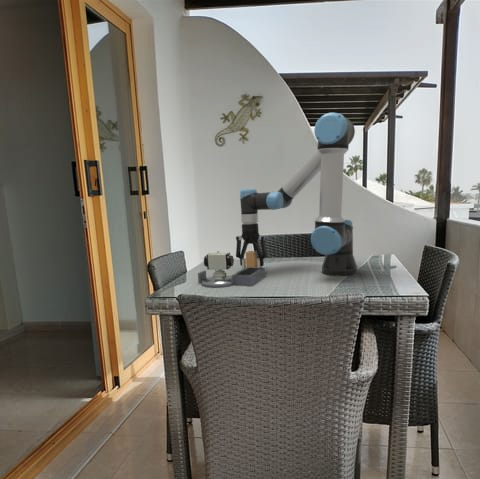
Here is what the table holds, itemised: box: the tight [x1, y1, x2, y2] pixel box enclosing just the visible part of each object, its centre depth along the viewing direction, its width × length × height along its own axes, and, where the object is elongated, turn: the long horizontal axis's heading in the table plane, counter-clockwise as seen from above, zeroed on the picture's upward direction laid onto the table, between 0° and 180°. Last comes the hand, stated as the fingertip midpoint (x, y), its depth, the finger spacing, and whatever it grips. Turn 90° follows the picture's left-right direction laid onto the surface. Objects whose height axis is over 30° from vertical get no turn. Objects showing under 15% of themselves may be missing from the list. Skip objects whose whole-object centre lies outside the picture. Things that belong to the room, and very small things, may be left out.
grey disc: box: [197, 270, 241, 289], centre depth 148 cm, size 18×15×4 cm
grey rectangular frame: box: [231, 267, 267, 287], centre depth 149 cm, size 9×17×4 cm, turn 157°
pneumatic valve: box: [203, 250, 235, 280], centre depth 148 cm, size 6×12×12 cm, turn 76°
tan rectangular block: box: [245, 250, 258, 267], centre depth 163 cm, size 4×4×10 cm
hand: (252, 272), depth 164 cm, fingers open, 7 cm apart
